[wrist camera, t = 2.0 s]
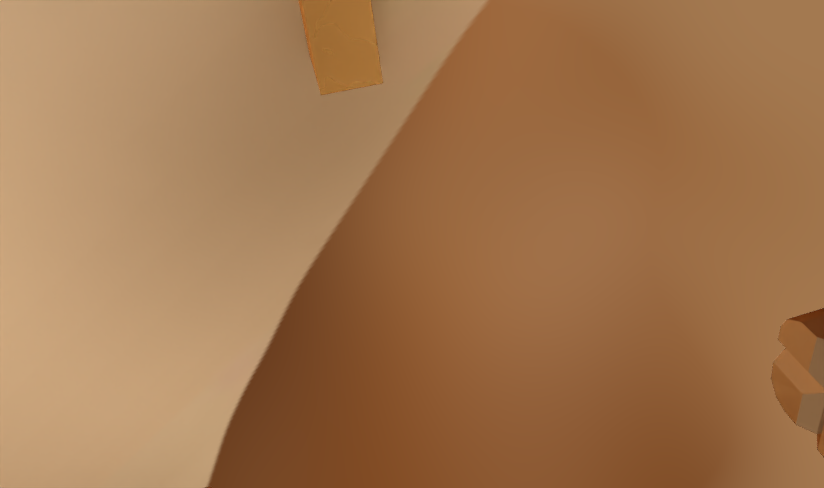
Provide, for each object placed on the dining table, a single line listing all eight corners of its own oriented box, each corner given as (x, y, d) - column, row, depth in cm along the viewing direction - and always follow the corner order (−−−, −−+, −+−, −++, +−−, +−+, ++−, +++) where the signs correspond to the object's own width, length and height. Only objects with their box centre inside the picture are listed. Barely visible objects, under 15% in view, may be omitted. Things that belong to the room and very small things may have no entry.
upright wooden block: (363, 44, 31) (382, 83, 27) (309, 54, 31) (320, 95, 27) (345, -74, 28) (363, -50, 24) (285, -64, 28) (293, -38, 24)
